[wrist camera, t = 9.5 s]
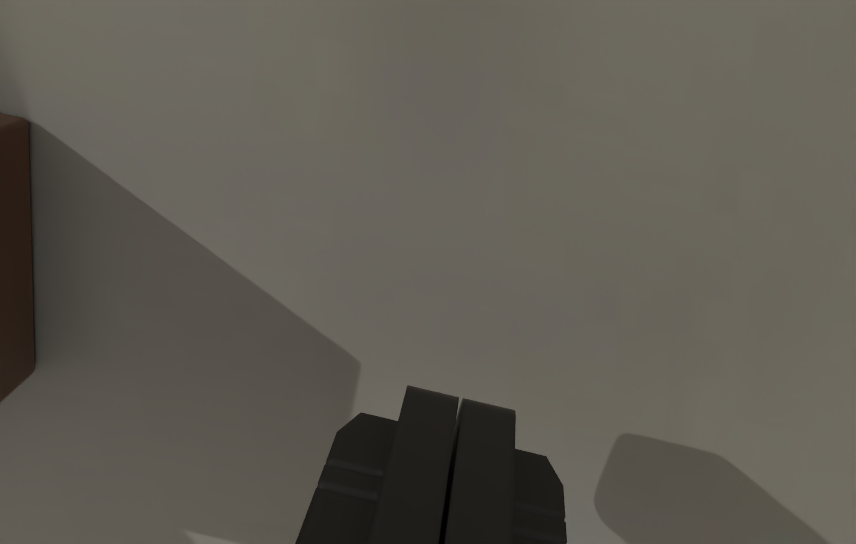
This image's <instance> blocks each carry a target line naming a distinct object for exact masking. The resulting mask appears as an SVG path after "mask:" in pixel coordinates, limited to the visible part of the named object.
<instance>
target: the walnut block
mask: <svg viewBox="0 0 856 544" xmlns="http://www.w3.org/2000/svg"><path fill="white" fill-rule="evenodd" d="M34 369H35V366H34V327H33V289H32V250H31V212H30V174H29V135H28V122H27V120H25V119H23V118H19V117H15V116H10V115H6V114H1V113H0V403H1V402H2V401H3V400H4V399H5V398H6V397H7V396H8V395H9V394H10V393H11V392H13V391H14V390H15V389H16V388H17V387H18V386H19V385H20V384H21V383H22V382H23V381H25V380H26V379H27V378H28V377H29V376H30V375H31V374H32V373H33V371H34Z"/></svg>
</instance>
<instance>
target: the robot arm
mask: <svg viewBox="0 0 856 544" xmlns="http://www.w3.org/2000/svg"><path fill="white" fill-rule="evenodd" d="M458 401H459V397H455V396H451V395H447V394H442V393H438V392H434V391H430V390H426V389H421V388H417V387H413V386H409V385H408V386H407V389H406V393H405V397H404V401H403V405H402V408H401V412H400V416H399V420H398V421H395V420H390V419H386V418H382V417H378V416H374V415H369V414H365V413H360V414H358V415H357V416H356V417H355V418H354V419H352V420H351V421H350V422H349V423H347V424H346V425H345V426H344V427H343V428H341V429H340V430H339V431H338V432H337V433H336V436H335V439H334V442H333V444H332V447H331V450H330V452H329V455H328V458H327V461H326V465H325V466H324V468H323V471H322V474H321V476H320V479H319V482H318V486H317V488H316V490H315V492H314V495H313V498H312V501H311V503H310V506H309V509H308V511H307V514H306V517H305V519H304V522H303V525H302V527H301V530H300V533H299V535H298V538H297V541H296V543H295V544H566V543H567V536H566V522H564V519H565V506H564V491H563V485H562V483H561V481H560V479H559V478H558V476H557V474H556V473H555V471H554V469H553V467H552V466H551V464H550V462H549V460H548V459H547V457H546V456H543V455H539V454H534V453H530V452H526V451H522V450H518V449H515V419H516V415H515V410H511V409H507V408H502V407H498V406H494V405H490V404H486V403H481V402H477V401H473V400H469V399H464V398H463V399H462V402H461V405H460V408H459V412H458V415H457V409H458ZM456 416H457V419H456Z"/></svg>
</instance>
